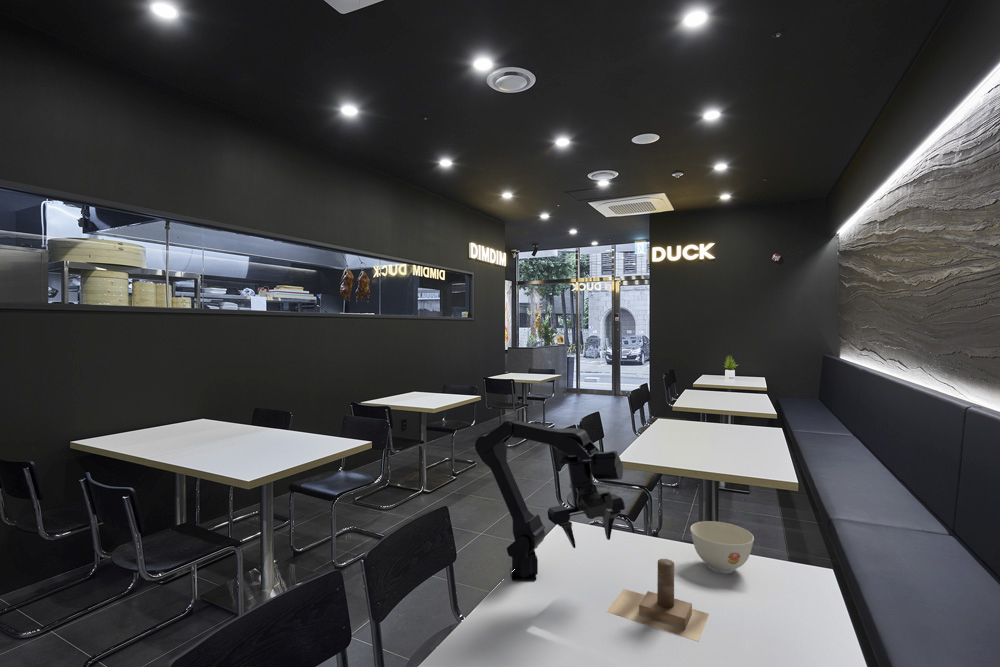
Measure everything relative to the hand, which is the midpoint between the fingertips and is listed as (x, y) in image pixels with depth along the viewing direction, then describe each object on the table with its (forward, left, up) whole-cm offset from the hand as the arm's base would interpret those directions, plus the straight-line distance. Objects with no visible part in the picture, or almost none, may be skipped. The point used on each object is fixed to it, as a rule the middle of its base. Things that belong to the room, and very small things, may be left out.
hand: (591, 543), depth 124 cm
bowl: (+39, +12, -13) cm, 43 cm away
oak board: (+13, -11, -12) cm, 21 cm away
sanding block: (+14, -12, -11) cm, 22 cm away
